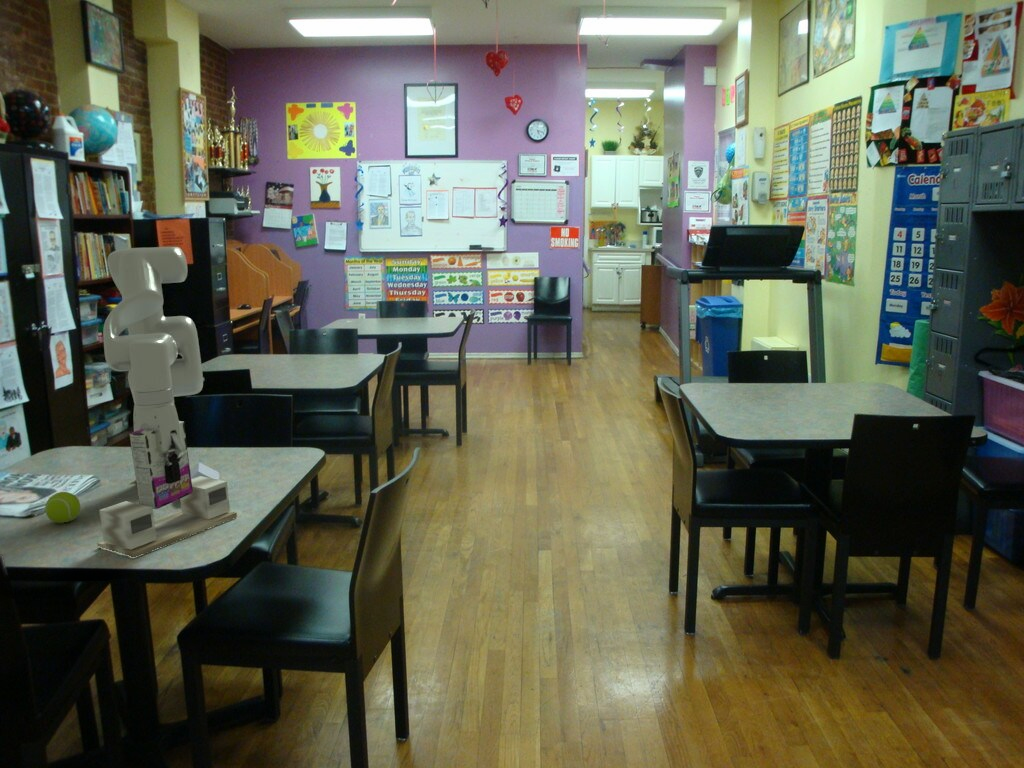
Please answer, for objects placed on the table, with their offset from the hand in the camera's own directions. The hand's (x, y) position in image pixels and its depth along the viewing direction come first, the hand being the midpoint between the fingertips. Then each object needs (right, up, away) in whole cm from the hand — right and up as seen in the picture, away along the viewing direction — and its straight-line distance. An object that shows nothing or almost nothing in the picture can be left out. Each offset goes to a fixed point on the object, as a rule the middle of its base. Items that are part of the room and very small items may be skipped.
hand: (164, 479), depth 180 cm
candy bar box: (0, -5, +1) cm, 5 cm away
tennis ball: (-27, -11, +11) cm, 31 cm away
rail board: (0, -12, +3) cm, 12 cm away
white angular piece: (-2, -7, +27) cm, 28 cm away
